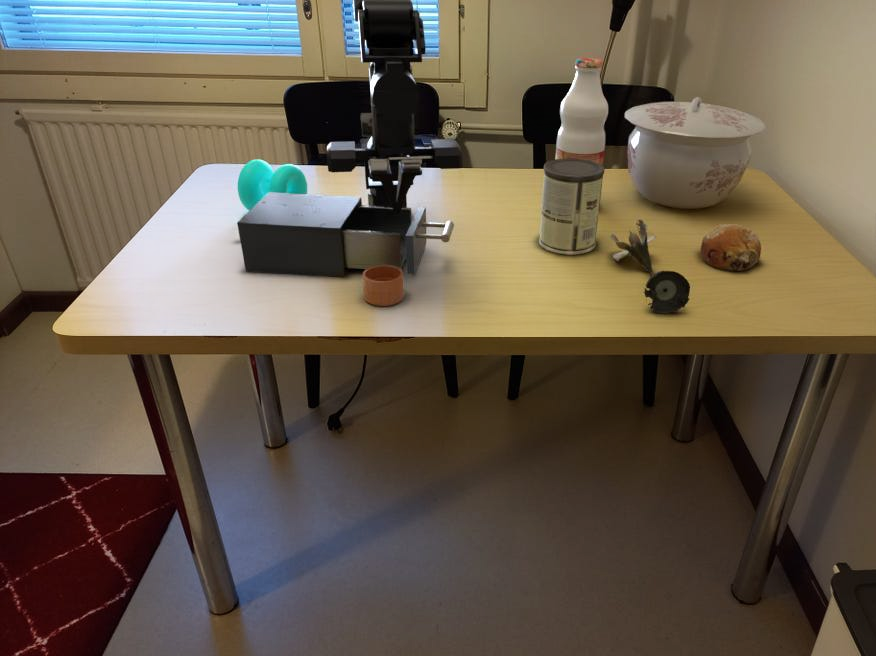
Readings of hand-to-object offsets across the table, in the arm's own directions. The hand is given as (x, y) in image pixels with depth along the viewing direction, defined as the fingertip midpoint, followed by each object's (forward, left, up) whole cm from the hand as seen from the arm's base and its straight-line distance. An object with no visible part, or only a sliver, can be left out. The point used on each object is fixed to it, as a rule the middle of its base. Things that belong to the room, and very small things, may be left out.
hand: (397, 213), depth 102 cm
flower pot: (+4, +2, -12) cm, 13 cm away
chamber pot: (-70, -11, -12) cm, 72 cm away
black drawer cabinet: (+9, -18, -12) cm, 24 cm away
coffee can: (-34, -2, -12) cm, 36 cm away
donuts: (+8, -40, -12) cm, 43 cm away
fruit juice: (-47, -17, -12) cm, 51 cm away
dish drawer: (-3, -10, -11) cm, 15 cm away
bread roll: (-55, +17, -12) cm, 59 cm away
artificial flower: (-36, +16, -12) cm, 41 cm away
